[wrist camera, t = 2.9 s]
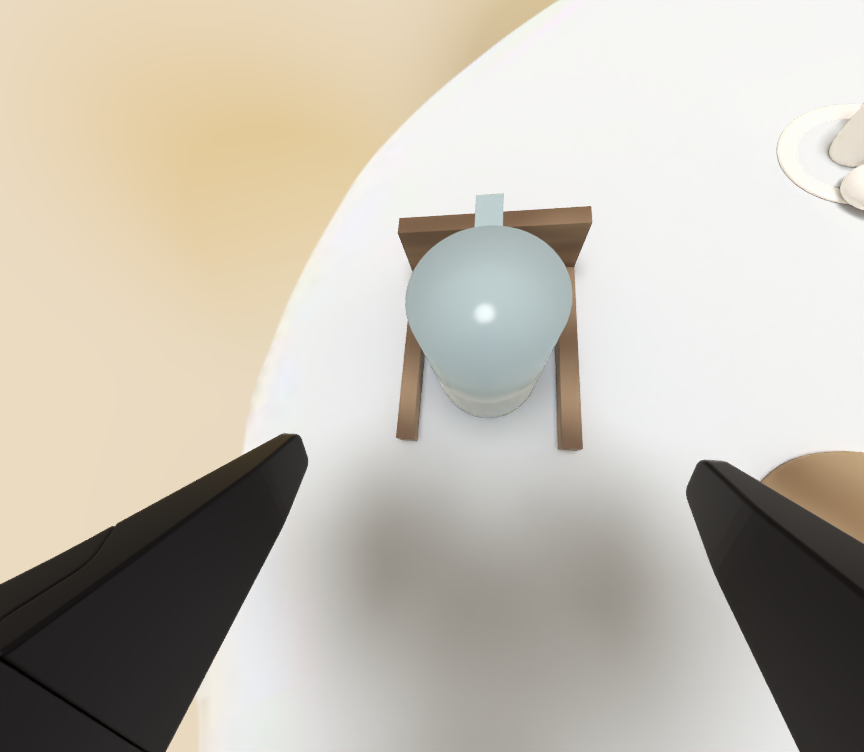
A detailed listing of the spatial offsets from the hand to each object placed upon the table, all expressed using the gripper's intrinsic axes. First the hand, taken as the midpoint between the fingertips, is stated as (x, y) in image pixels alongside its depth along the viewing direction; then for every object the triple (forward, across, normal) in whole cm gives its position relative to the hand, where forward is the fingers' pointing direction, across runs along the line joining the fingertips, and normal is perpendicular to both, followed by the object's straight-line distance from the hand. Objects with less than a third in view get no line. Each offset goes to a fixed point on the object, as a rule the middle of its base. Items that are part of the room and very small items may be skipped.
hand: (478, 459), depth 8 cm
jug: (+14, 0, +3) cm, 14 cm away
